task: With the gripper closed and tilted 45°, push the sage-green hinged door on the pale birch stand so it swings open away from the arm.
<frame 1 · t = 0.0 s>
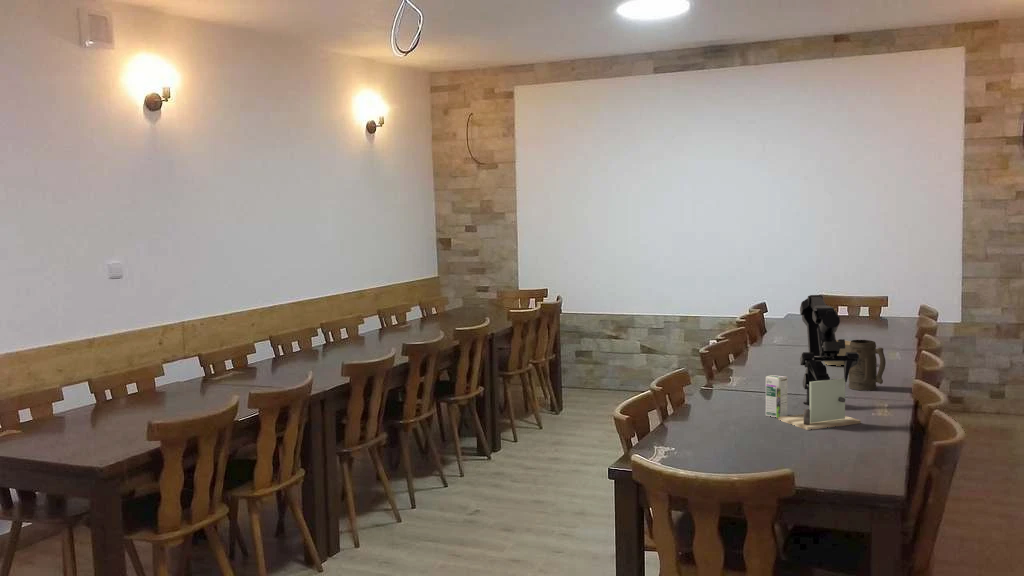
hand: (831, 381, 285), 15 cm above the table, tool tilted 35°, fingers open, 9 cm apart
planter bowl: (835, 365, 397), on the table
door stand: (818, 421, 291), on the table
syrup box: (776, 416, 301), on the table
door: (828, 400, 286), point 8 cm above the table, hinge at -0.4°
beer stein: (868, 389, 342), on the table
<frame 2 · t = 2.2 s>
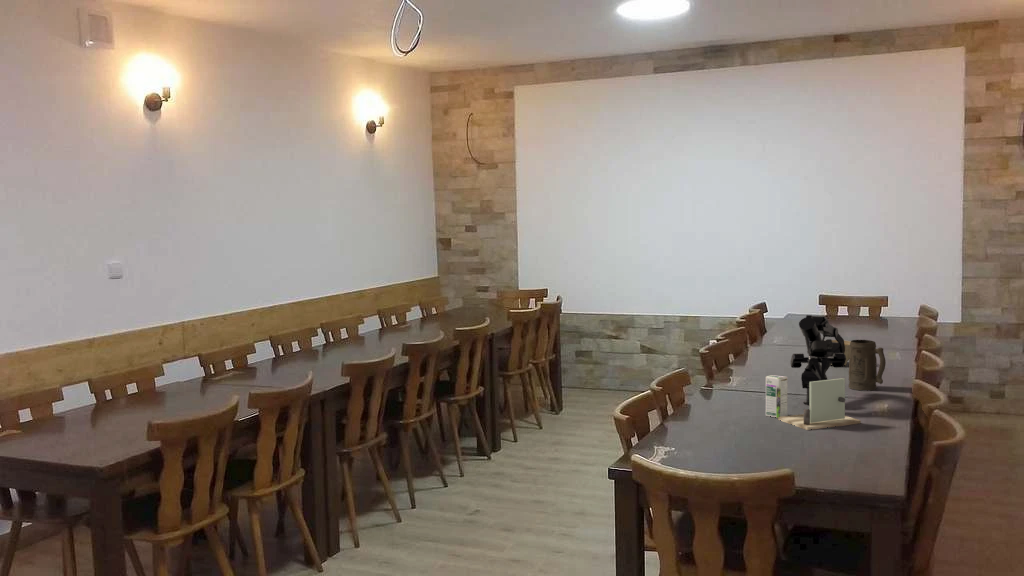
hand: (822, 379, 301), 13 cm above the table, tool tilted 45°, fingers closed
door: (828, 400, 286), point 8 cm above the table, hinge at -0.7°
everything else where it was.
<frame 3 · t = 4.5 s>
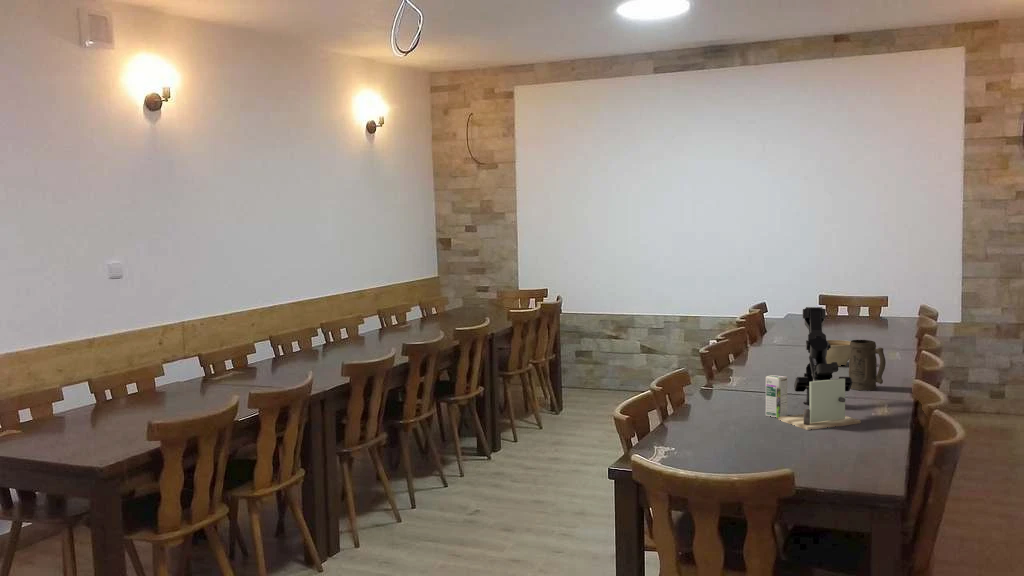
hand: (827, 404, 288), 7 cm above the table, tool tilted 45°, fingers closed
door: (828, 400, 286), point 8 cm above the table, hinge at -0.3°, touching gripper
everything else where it was.
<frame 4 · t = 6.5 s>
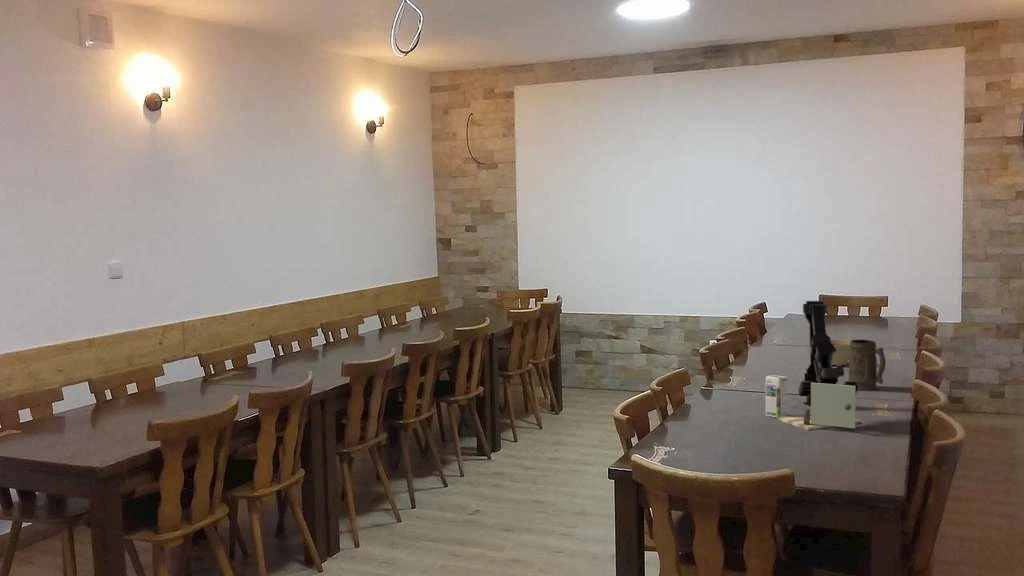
hand: (832, 409, 280), 7 cm above the table, tool tilted 45°, fingers closed
door: (832, 405, 279), point 8 cm above the table, hinge at 51.0°, touching gripper
everything else where it was.
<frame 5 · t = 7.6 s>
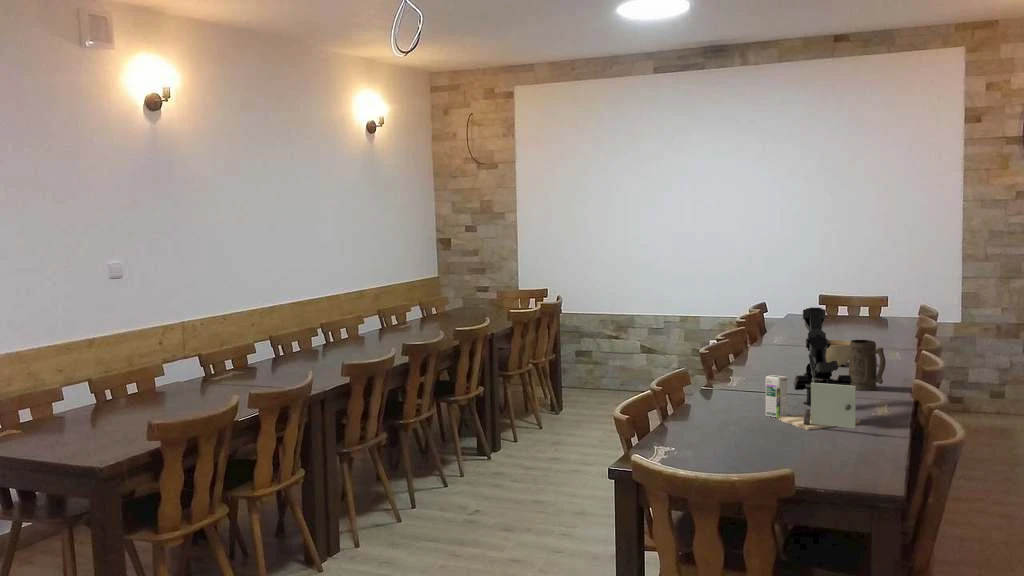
hand: (826, 403, 288), 7 cm above the table, tool tilted 45°, fingers closed
door: (832, 405, 279), point 8 cm above the table, hinge at 51.0°
everything else where it was.
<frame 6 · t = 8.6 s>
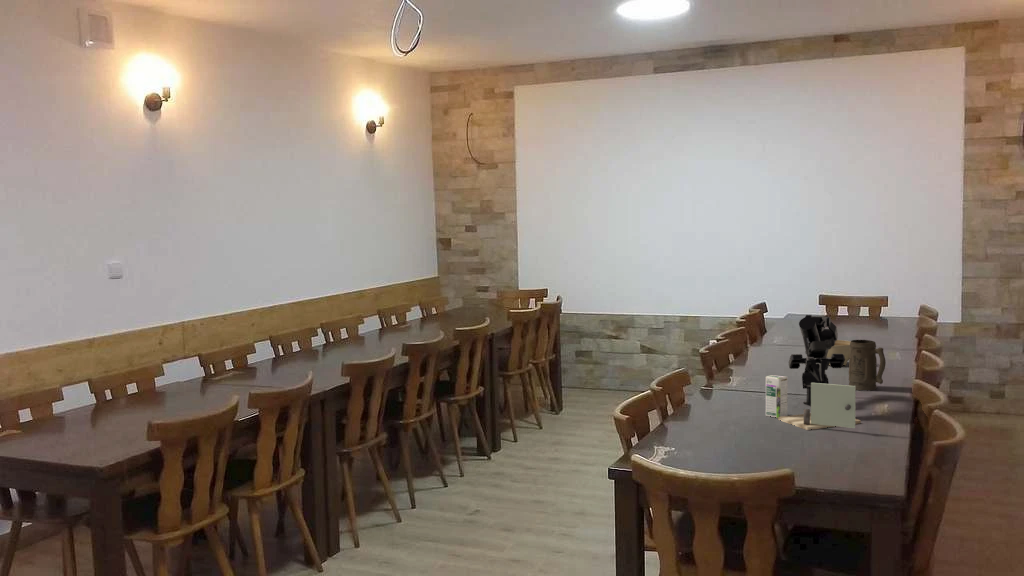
hand: (820, 380, 297), 13 cm above the table, tool tilted 45°, fingers closed
nothing on the table moved.
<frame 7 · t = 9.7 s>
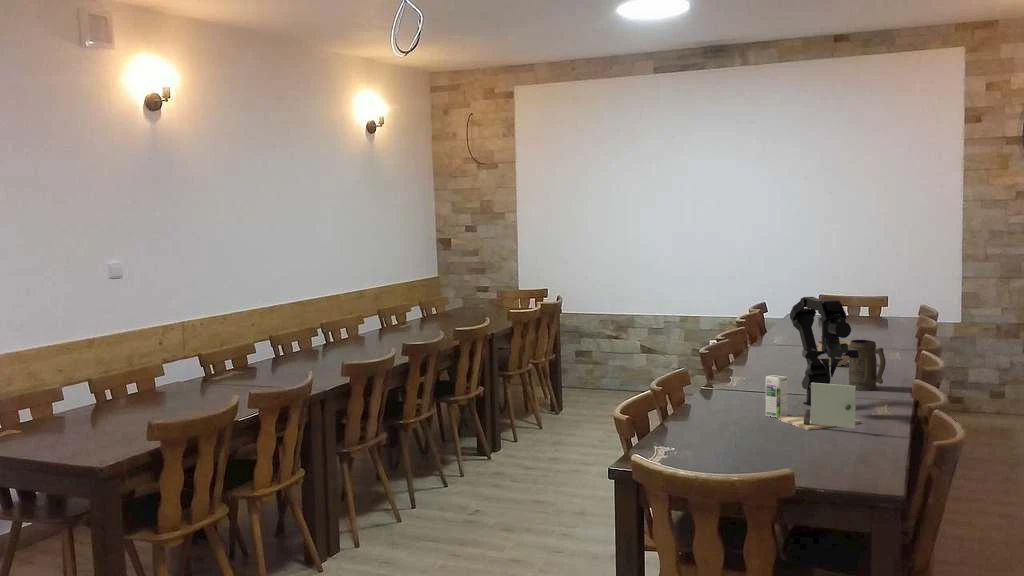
hand: (830, 376, 304), 13 cm above the table, tool pointing down, fingers closed
nothing on the table moved.
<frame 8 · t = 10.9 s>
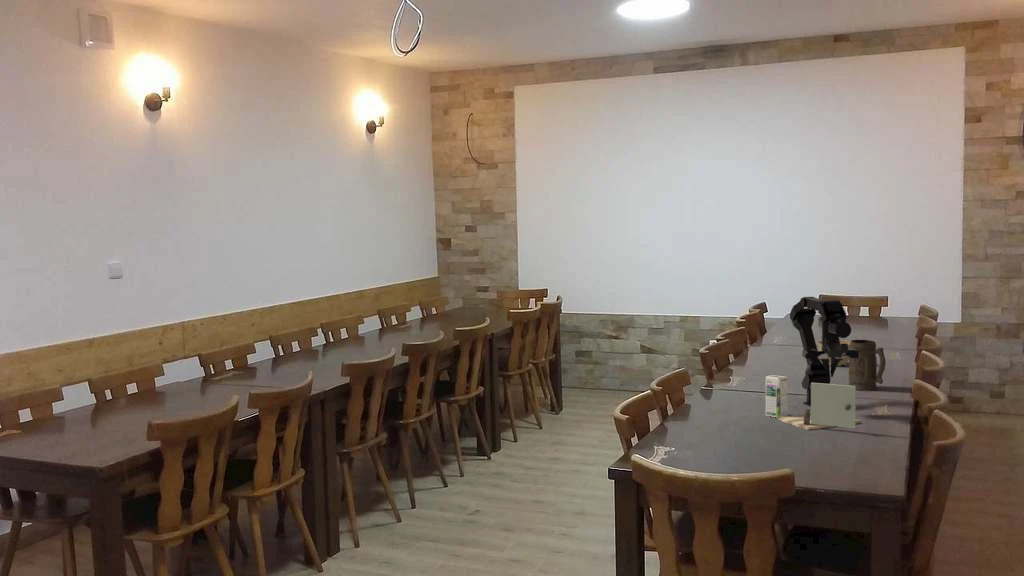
hand: (830, 376, 304), 13 cm above the table, tool pointing down, fingers closed
nothing on the table moved.
at the end: door at +51° (first picture: +0°); syrup box moved 0.2 cm from its start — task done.
